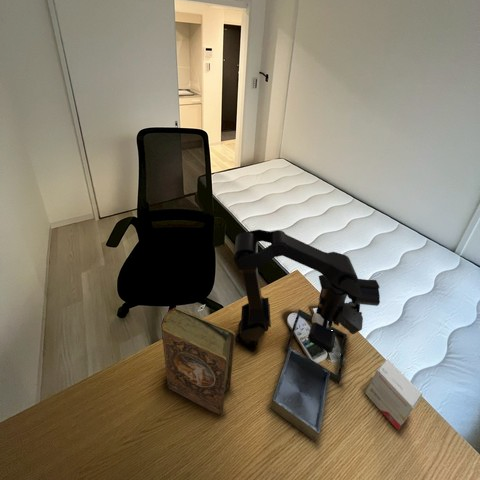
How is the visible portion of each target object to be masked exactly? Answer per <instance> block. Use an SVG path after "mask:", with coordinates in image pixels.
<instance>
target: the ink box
mask: <svg viewBox="0 0 480 480" xmlns="http://www.w3.org/2000/svg"><path fill="white" fill-rule="evenodd" d="M365 395H366V396H367V397H368V399H370V401H371V402H372V403H373V404H374V405H375V406H376V408H377V409H378V410H379V411H380V412H381V413H382V415H384V417H385V418H387V420H388V421H389V422H390V423H391V425H392V426H393V427H394V428H395V429H396V430H398V431H399V430H400V428H401V427H402V425H403V424H404V423H405V422H406V420H407V418H408V417H409V416H410V414H411V413H412V412H413V410H414V409H415V407H416V406H417V404H418V403H419V401H420V399H421V398H422V396H423V393H422V392H421V391H420V390H419V388H417V387H416V386H415V385H414V383H412V382H411V381H410V380H409V378H407V377H406V376H405V374H403V373H402V371H400V369H399V368H398V367H397V366H395V365H394V363H392V362H391V361H390V359H388V358H387V359H385V361H383V362H382V363H381V364H380V366H379V367H378V368H377V369H376V371H375V373H374V375H373V377H372V378H371V380H370V382H369V385H368V387H367V388H366V390H365Z"/></svg>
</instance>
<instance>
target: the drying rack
mask: <svg viewBox="0 0 480 480" xmlns="http://www.w3.org/2000/svg"><path fill="white" fill-rule="evenodd" d="M312 317H313V315H311V314H310V313H307V312H305V311H303V310H301V309H300V308H299V309H298V311H297V314H296V316H295V320H294V321H293V324H292V328H291V330H290V333H289V337H288V339H287V342H286V346H285V350H284V352H286V353H287V354H288V351H289V348H290V347H291V343H292V340H293V337H294V334H295V332H296V328H297V325H298V322H299V319H300V318H302V319H304V320H306V321H308V322H310V323H312ZM331 330H333V332H334V333H335V335H336V338H337V337H338V338H340V339H341V346H340V353H339V359H338V364H337V372H336V373H334V372H333V371H331V370H329V371H330V377H329V380H331V381H333V382H334V383H336V384H337V385H339V384H340V383H341V380H342V373H343V372H342V371H343V368H344V359H345V354H346V343H347V341H348V334H347V333H345V332H343V331H341V330H339V329H337V328H335V327H334V326H332V328H331ZM291 348H292V349H294V348H293V347H291ZM296 351H297V352H299V351H298V350H296ZM301 354H302V355H304V354H303V353H301ZM340 354H341V355H340ZM306 357H307V358H309V357H308V356H306ZM309 359H310V360H312V359H311V358H309ZM314 362H315V363H317V362H316V361H314ZM319 365H320V366H322V365H321V364H319ZM324 368H325V369H327V368H326V367H324Z"/></svg>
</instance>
